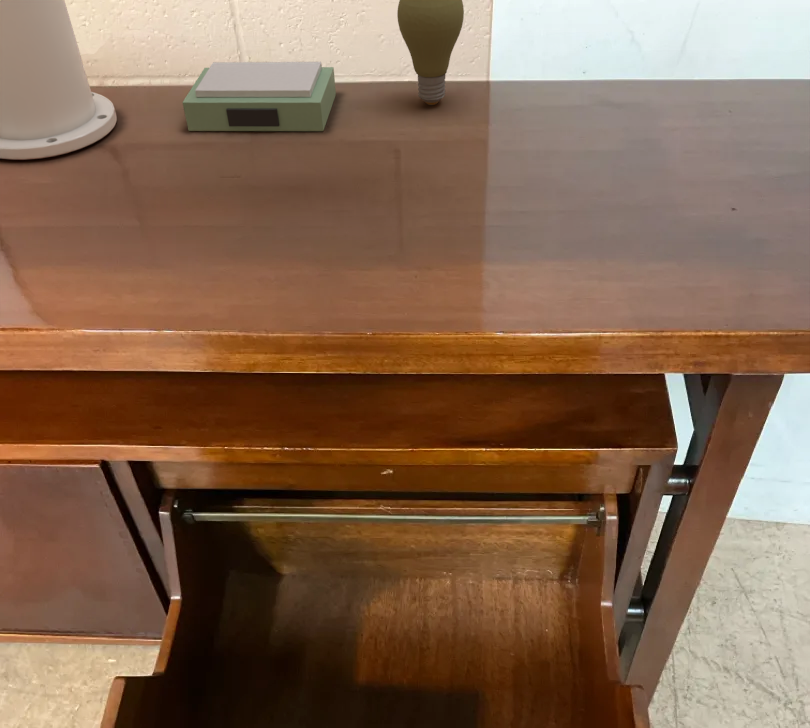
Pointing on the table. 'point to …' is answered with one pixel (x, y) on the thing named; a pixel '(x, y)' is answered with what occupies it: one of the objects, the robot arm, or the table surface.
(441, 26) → the light bulb
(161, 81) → the table surface
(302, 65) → the scale
